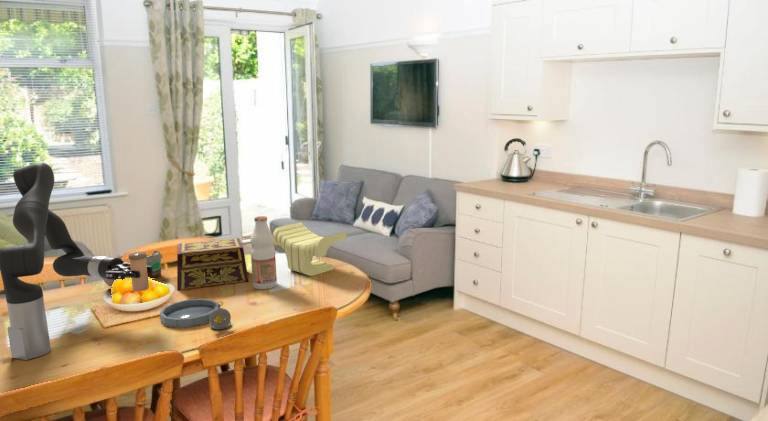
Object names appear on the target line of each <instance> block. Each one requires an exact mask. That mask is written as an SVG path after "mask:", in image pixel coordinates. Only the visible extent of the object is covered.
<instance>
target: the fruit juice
mask: <svg viewBox="0 0 768 421" xmlns="http://www.w3.org/2000/svg"><path fill="white" fill-rule="evenodd" d="M253 220H254V228H253V231H252V233H251V235H250V244H251V251H250V259H251V275H252V286H253V288H255V289H258V290H267V289H272V288H275V287H277V284H278V279H277V263H276V262H277V260H276V250H275V248H274V247H275V246H274V245H273V243H274V237H273V233H272V231H271V230H270V228H269V225H268V223H267V222H268V216H265V215H262V216H261V215H260V216H255V217H254V219H253Z"/></svg>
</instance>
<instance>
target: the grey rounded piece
mask: <svg viewBox="0 0 768 421" xmlns="http://www.w3.org/2000/svg"><path fill="white" fill-rule="evenodd" d="M215 302H216V303H218V305H216V303H215V306H217V307H218V309H215V310H214V311H212V312H211V314H210V317H209V321H210V322H209V323H210V324H209V326H210V328H211V329H212V330H224V329H226V328H229V327H231V325H232V322H231V318H232V315H231V313H230V311H229V310H228V309H226V308H223V307H221V306H223V304H224V302H223V301H220V303H221V304H220V303H219V301H215ZM215 317H216V318H215Z"/></svg>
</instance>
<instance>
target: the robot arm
mask: <svg viewBox="0 0 768 421" xmlns="http://www.w3.org/2000/svg"><path fill="white" fill-rule="evenodd" d="M13 181H14V183H15V186H16V188H17V189H18V191H19V193H20V195H21V196H22V197H21V198H20V199H19V200H18V201H17V203H16V205H15V207H14V212H13V215H12V216H13V217H12V224H13V227H14V228H15V230H16V231H17V232H18V233H19V234H20V235H22V236H23V238H25V239H26V240H27V241H28V242H29V243H28V244H19V245H8V246H3V247H1V248H0V275H1V281H2V285H3V289H4V290H3V291H4V295H5V301H6V307H7V314H8V319H9V326H8V327H7V329H6V330H7V335H8V341H9V349H10V352H11V353H10V354H11V358H13V359H16V360H17V359H18V360H23V361H28V360H30V359H32V360H33V359H35V358H38V357H39V358H40V357H41V356H44V355H46V354H49V352H50V351H51V350H52V348H51V347H52V346H51V339H50V334H49V327H48V319H47V314H46V307H45V299H44V293H43V287H42V286H41V285H39V284H36V283H30V282H26V281H23V280H21V279H19V278H22V277H31V276H36V275H37V276H38V275H39V274H41V273H42V271H43V269H44V265H45V239H46V241H47V243H48V245H49V247H50V248H51V249H52V250H54V251H56V250H57V251H58V250H62V251H63V252H64V253H65V254H62V255H60V256H58V257H56V258H55V259H54V260H53V263H52V269H53V270H54V272H55V273H56V274H57V275H59V276H61V277H79V276H88V277H95V278H97V279H98V278H99V279H103V278H104V279H112V280H116V279H122V280H123V279H125V278H130V277H132V278H140V272H139V271H133V270H131V269H130V261H126V262H123V261H124V260H123V259H121V258H120V257H114V256H104V255H90V254H89V255H85V254H84V252H83V251H82V250H81V248H80V247H79V246H78V244H76V242H75V241H74V240H73V238H72V237H71V235H70V234H71V233H70V232H69V230H68V228H67V225H66V223H65V222H64V220H63V219H62V218H61V217H60V216H59V215H57V213H55V212H53V211H52V210H51V209H49V205H50V200H51V195H52V192H53V190H54V189H53V188H54V186H55V174H54V170H53V169H52V168H51V166H50V164H47V163H45V162H36V163H33V164H30V165H26V166H23V167H21V168H17V169H15V171H14V172H13ZM152 272H153V270H152V266H147V273H152Z"/></svg>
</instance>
